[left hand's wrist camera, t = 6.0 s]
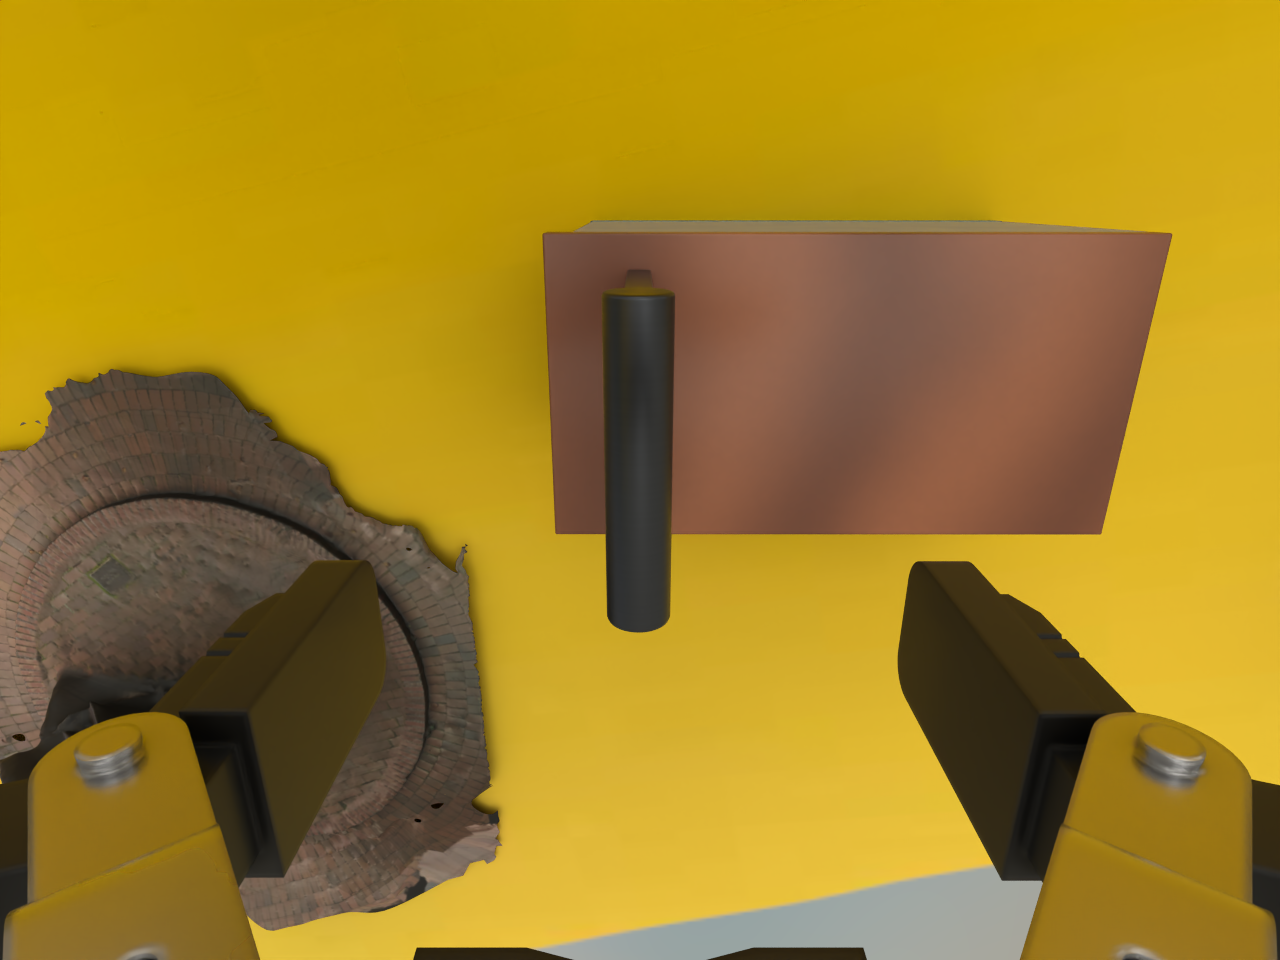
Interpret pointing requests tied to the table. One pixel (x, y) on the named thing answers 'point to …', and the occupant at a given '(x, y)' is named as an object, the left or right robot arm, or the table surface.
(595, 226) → the chest
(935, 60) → the table surface
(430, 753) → the sculpture
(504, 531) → the table surface
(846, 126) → the table surface
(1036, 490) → the lid
